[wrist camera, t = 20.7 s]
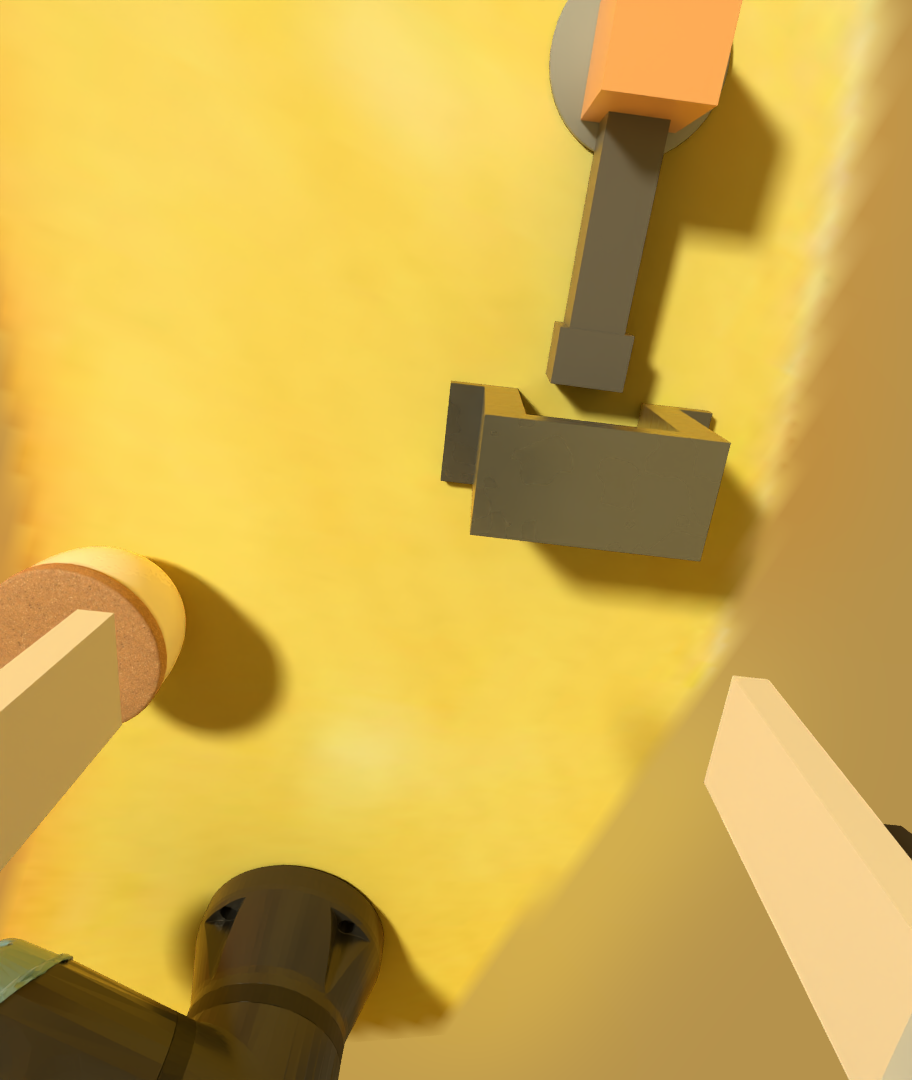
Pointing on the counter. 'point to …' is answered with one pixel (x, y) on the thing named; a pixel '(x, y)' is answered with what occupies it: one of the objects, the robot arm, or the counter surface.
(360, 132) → the counter surface
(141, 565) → the lidded jar
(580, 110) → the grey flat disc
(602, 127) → the plug
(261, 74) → the counter surface
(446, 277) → the counter surface
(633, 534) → the housing
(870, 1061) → the robot arm
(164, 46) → the counter surface
